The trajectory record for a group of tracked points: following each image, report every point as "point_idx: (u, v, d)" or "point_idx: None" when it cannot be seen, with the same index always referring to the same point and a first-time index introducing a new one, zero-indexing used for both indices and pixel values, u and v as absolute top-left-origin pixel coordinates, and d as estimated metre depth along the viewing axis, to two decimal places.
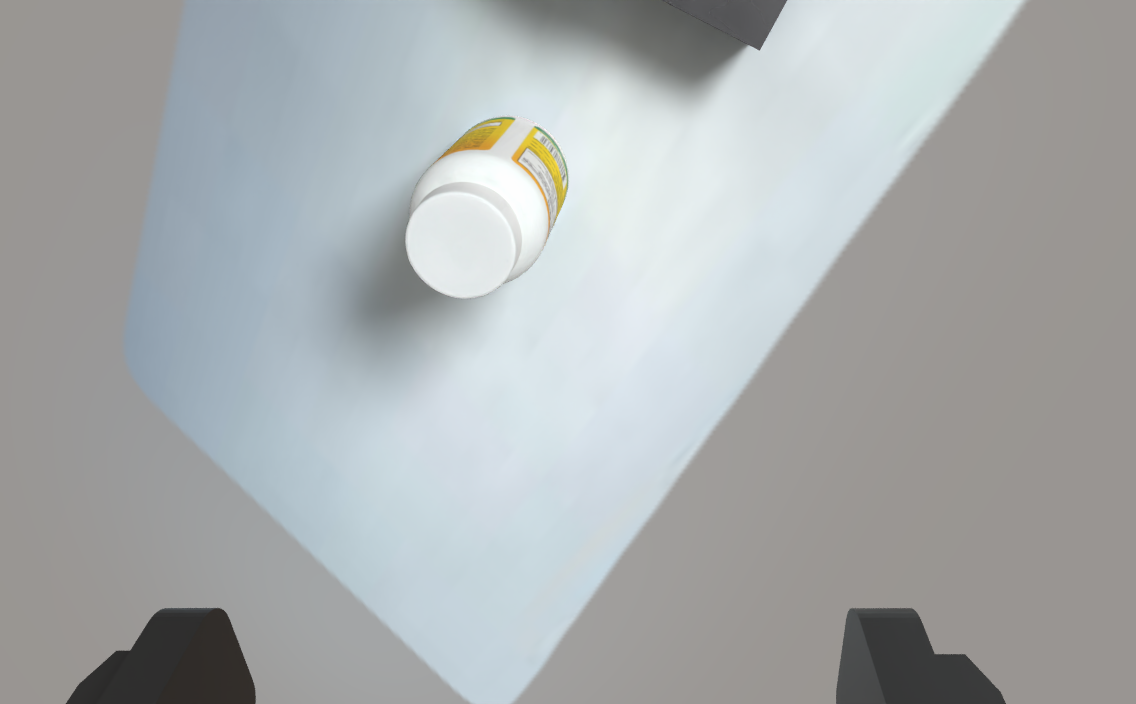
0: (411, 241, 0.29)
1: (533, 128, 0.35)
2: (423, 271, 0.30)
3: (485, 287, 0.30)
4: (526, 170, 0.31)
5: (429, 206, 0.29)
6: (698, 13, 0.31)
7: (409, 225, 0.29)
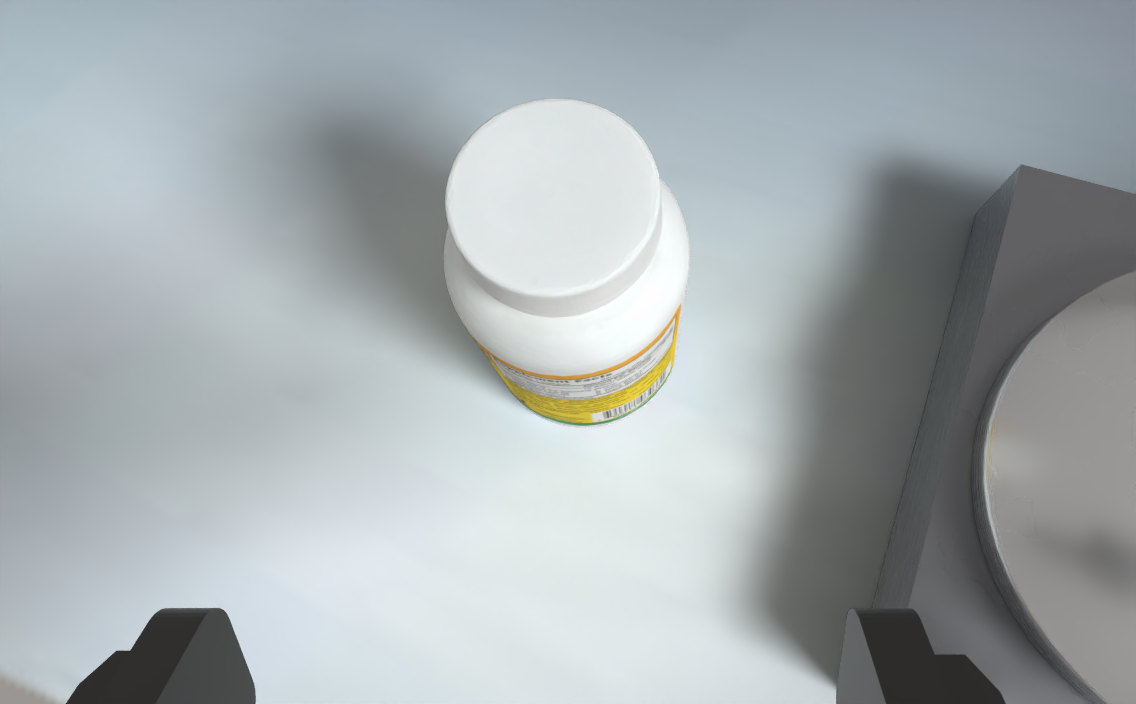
0: (551, 108, 0.16)
1: (673, 362, 0.23)
2: (494, 131, 0.16)
3: (473, 245, 0.15)
4: (665, 329, 0.18)
5: (625, 136, 0.15)
6: (918, 600, 0.19)
7: (582, 104, 0.16)
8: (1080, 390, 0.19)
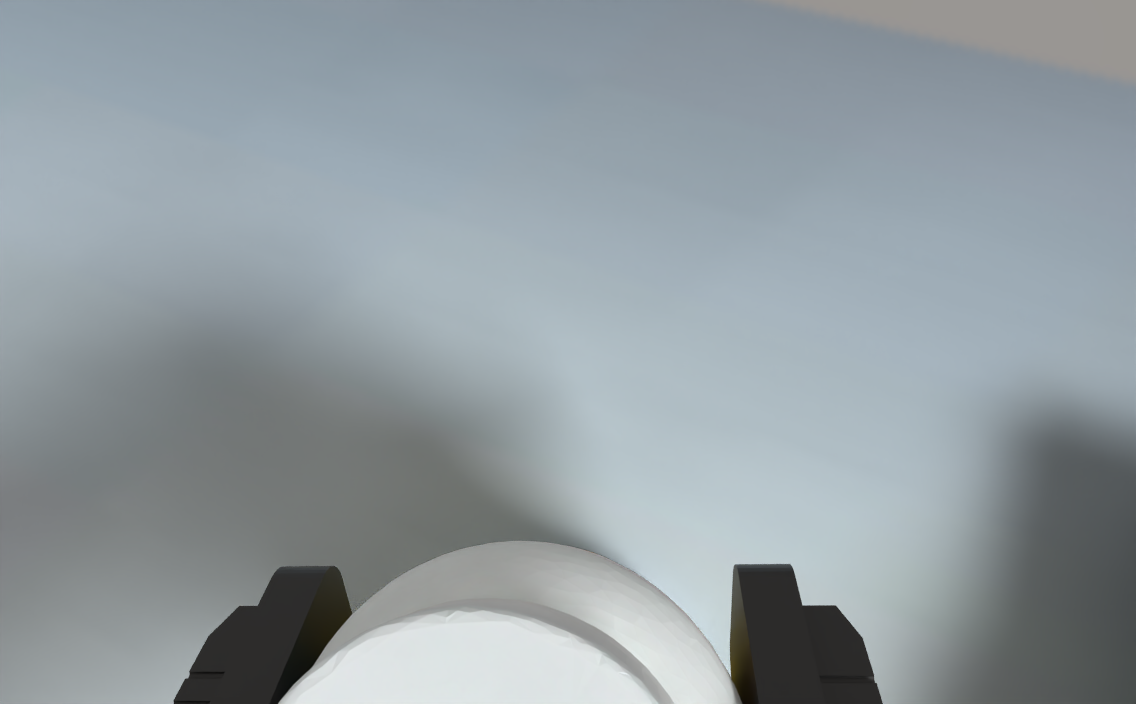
0: (466, 639, 0.07)
1: None
2: (331, 696, 0.07)
3: None
4: None
5: None
6: None
7: (537, 630, 0.07)
8: None
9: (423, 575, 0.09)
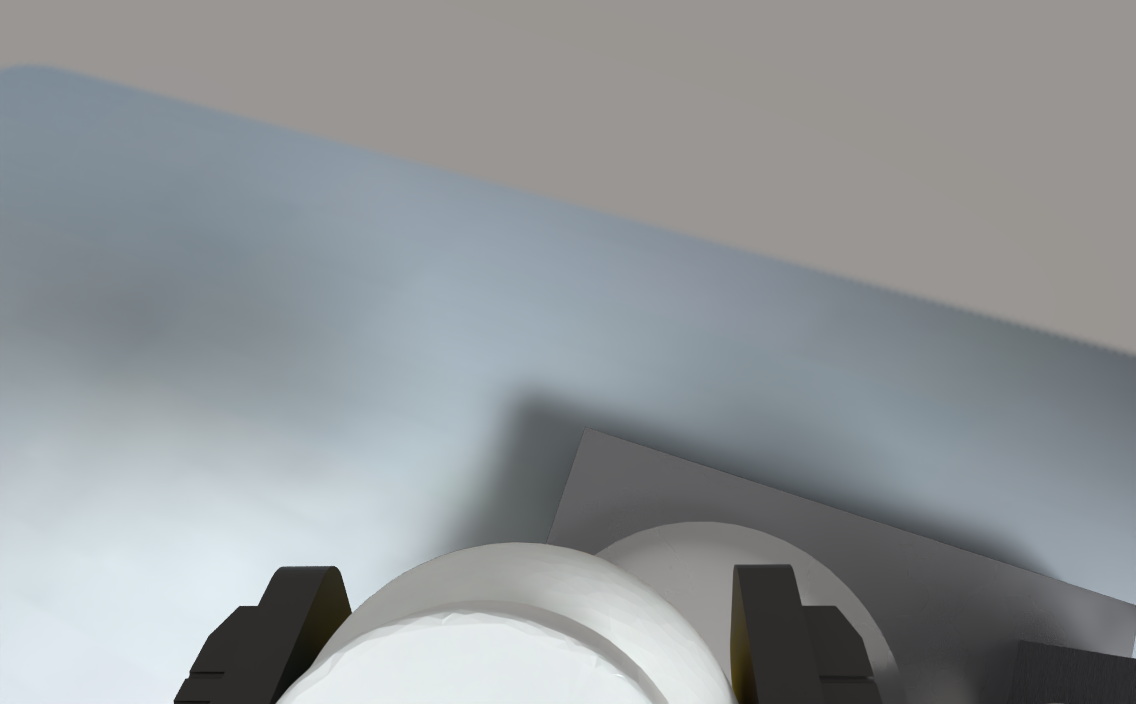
0: (461, 642, 0.07)
1: None
2: (327, 698, 0.07)
3: None
4: None
5: None
6: None
7: (533, 632, 0.07)
8: None
9: (419, 577, 0.09)
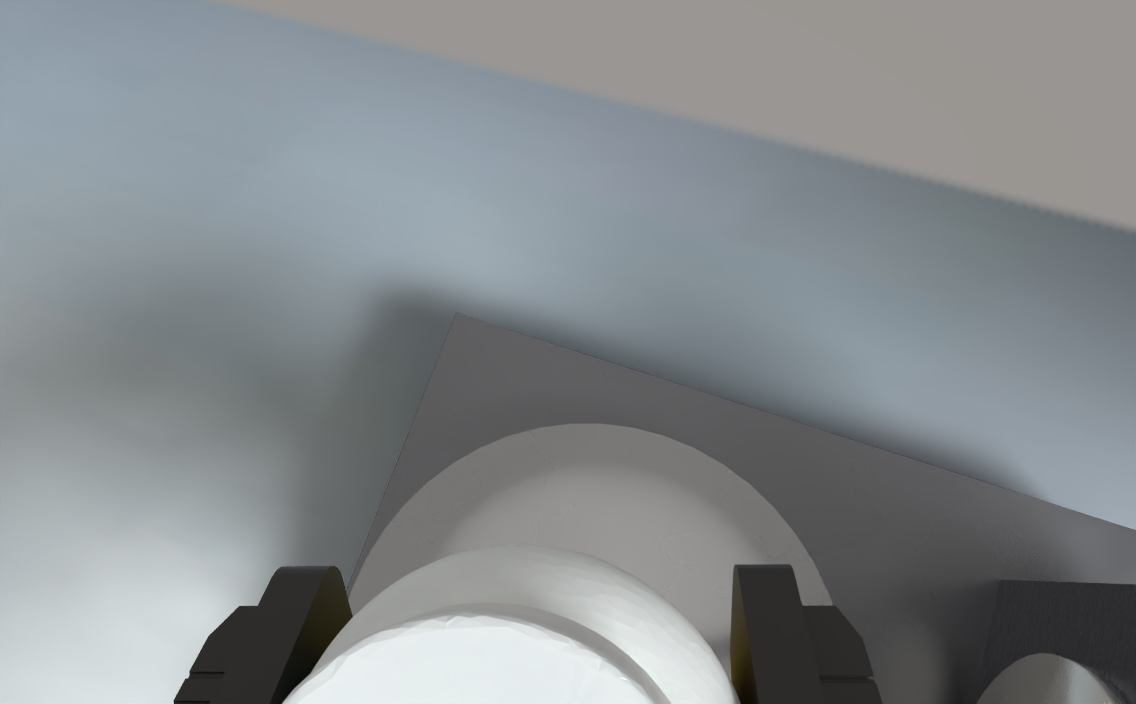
0: (465, 645, 0.07)
1: None
2: (331, 702, 0.07)
3: None
4: None
5: None
6: None
7: (537, 635, 0.07)
8: None
9: (422, 578, 0.09)
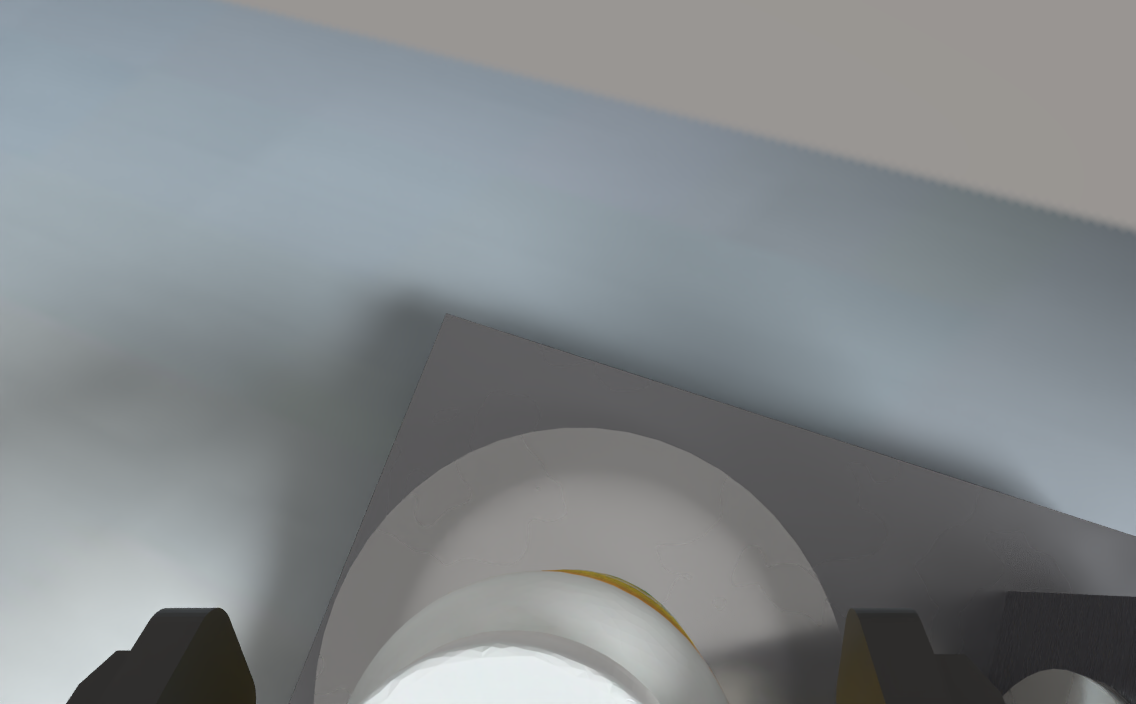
0: (498, 671, 0.08)
1: None
2: None
3: None
4: None
5: None
6: None
7: (558, 663, 0.08)
8: (420, 571, 0.18)
9: (453, 603, 0.11)
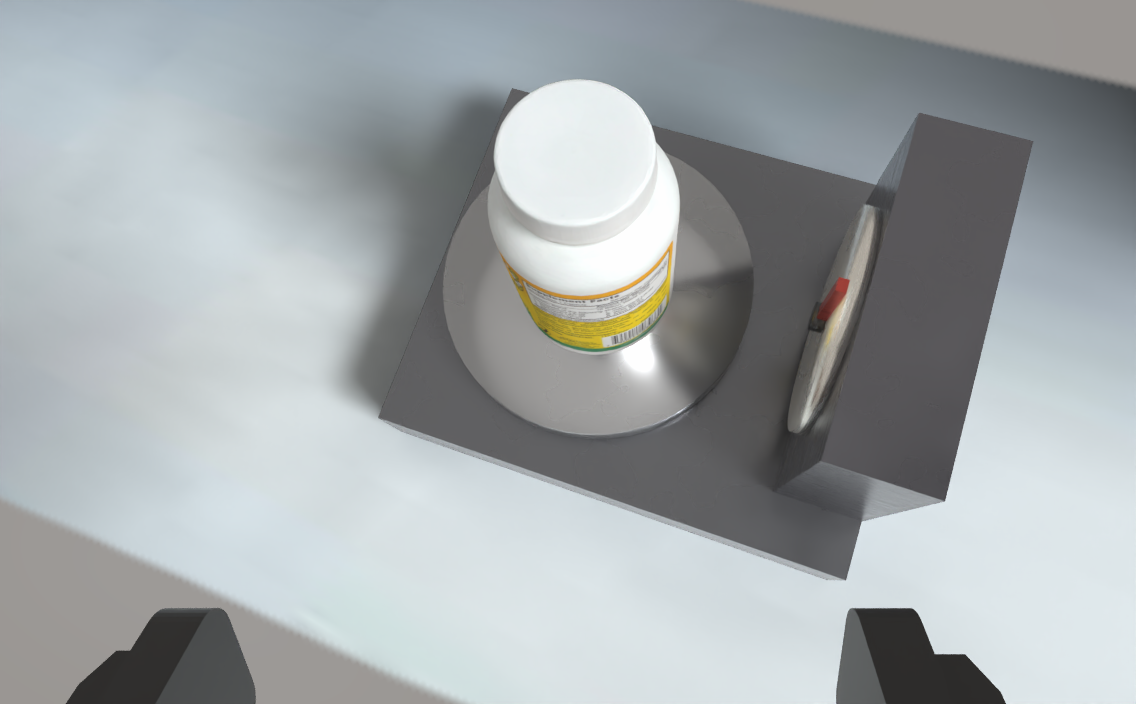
0: (573, 86, 0.21)
1: (668, 299, 0.28)
2: (530, 104, 0.21)
3: (516, 188, 0.20)
4: (660, 260, 0.23)
5: (629, 107, 0.20)
6: (409, 351, 0.31)
7: (597, 83, 0.21)
8: None
9: None
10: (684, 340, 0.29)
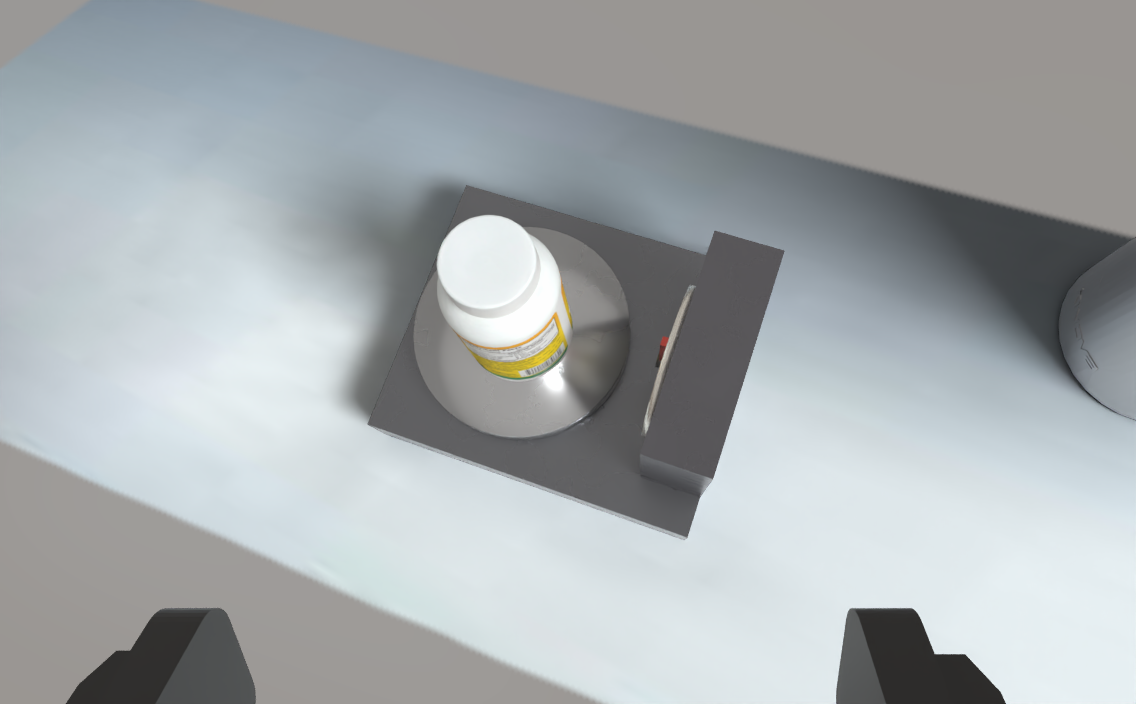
0: (487, 220, 0.33)
1: (567, 344, 0.40)
2: (460, 230, 0.33)
3: (449, 284, 0.33)
4: (547, 324, 0.35)
5: (520, 234, 0.33)
6: (390, 377, 0.43)
7: (501, 218, 0.33)
8: None
9: None
10: (580, 371, 0.41)
